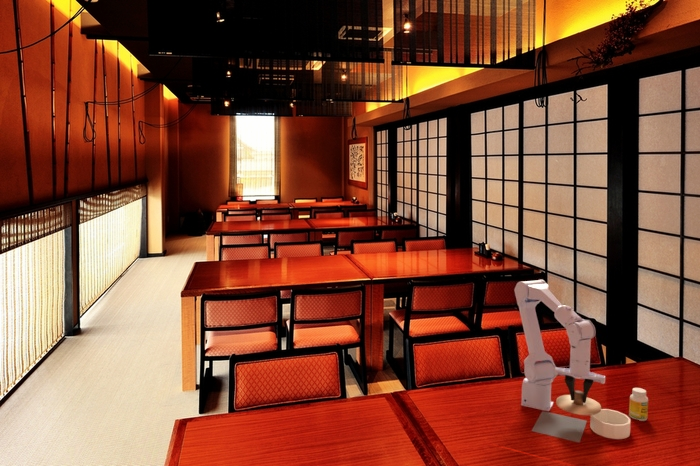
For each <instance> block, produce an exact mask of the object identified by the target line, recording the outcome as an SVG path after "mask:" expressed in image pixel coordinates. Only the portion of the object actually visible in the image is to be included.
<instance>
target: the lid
mask: <svg viewBox="0 0 700 466" xmlns="http://www.w3.org/2000/svg"><path fill="white" fill-rule="evenodd" d="M555 404H556V406H557V407H558V408H559V409H561V410H563V411H565V412H567V413H571V414H574V415H578V416H591V415H594V414H598V413H599V412H600V411H601V409H602V406H601V404H600V402H598V401H596V400H595V399H592V398H590V397H588V396H587V398H586V402H585V403H583V391H581V390H575V391H574V400H571V396H570V394H563V395H560V396H558V397H557V398H556V401H555Z"/></svg>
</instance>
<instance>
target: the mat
mask: <svg viewBox="0 0 700 466" xmlns="http://www.w3.org/2000/svg"><path fill="white" fill-rule="evenodd" d="M587 422H588V420H586V419H580V418H576V417H571V416H567V415H562V414H557V413H555V412H549V411H545V410H541V413H540V414H539V417H538V418H537V420H536V422H535V423H534V425H533V427H532V429H531V432H534V433H538V434H542V435H545V436H546V435H547V436H550V437H555V438H557V439H564V440H567V441H570V442H574V443H575V442H576V443H579V444H580V443H581V439H582V436H583V434H584V432H585V428H586V426H587Z"/></svg>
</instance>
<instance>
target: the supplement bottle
mask: <svg viewBox="0 0 700 466" xmlns="http://www.w3.org/2000/svg"><path fill="white" fill-rule="evenodd" d="M631 393H632V394H630V396H629V407H628V408H629V409H628V417H629V418H632V419H633V420H637V421H638V420H639V422H645V421H647V419H648V411H649V409H648V408H649V398H648V396H647V390H646V389H643V388H641V387H633V388H632V392H631Z"/></svg>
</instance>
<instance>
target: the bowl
mask: <svg viewBox="0 0 700 466" xmlns="http://www.w3.org/2000/svg"><path fill="white" fill-rule="evenodd" d="M589 421H590V423H589V426H590V429H591V430H592V432H593V433H595V434H596V435H599V436H600V437H603V438H607V439H612V440H623V439H627V438H629V437H630V435H631V422H632V421H631V417H630V416H629V415H627V414H625V413H623V412H621V411H618V410H614V409H609V408H601V411H600V412H599V413H598V414H594V415H590V420H589Z"/></svg>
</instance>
